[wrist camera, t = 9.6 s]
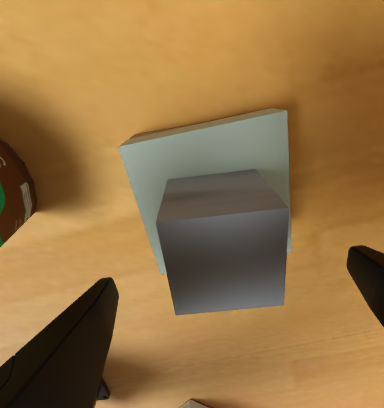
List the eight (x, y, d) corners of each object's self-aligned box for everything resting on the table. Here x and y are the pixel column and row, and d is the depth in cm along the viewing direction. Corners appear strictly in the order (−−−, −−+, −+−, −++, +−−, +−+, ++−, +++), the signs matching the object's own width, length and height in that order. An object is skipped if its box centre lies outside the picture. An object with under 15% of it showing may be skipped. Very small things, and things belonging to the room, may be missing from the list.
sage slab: (278, 232, 18) (291, 252, 16) (164, 252, 19) (161, 274, 16) (271, 108, 14) (287, 110, 12) (129, 138, 15) (117, 146, 13)
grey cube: (256, 242, 15) (283, 305, 11) (180, 250, 16) (175, 315, 11) (255, 168, 13) (289, 207, 9) (167, 179, 13) (155, 222, 9)
